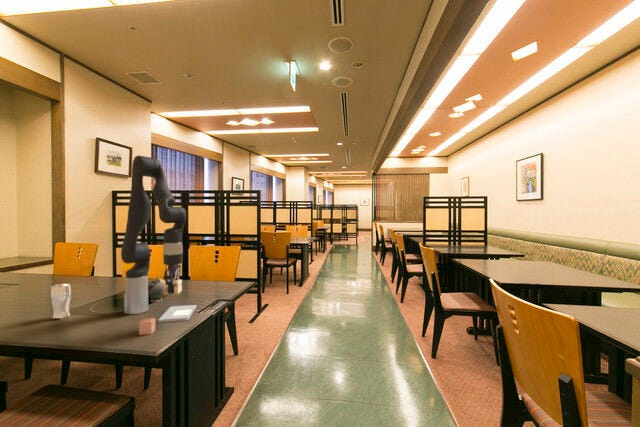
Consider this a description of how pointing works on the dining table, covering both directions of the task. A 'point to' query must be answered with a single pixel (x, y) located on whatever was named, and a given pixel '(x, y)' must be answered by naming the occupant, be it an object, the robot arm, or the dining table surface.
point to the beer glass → (61, 300)
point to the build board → (177, 313)
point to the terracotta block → (146, 326)
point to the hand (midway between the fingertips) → (173, 291)
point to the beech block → (176, 287)
